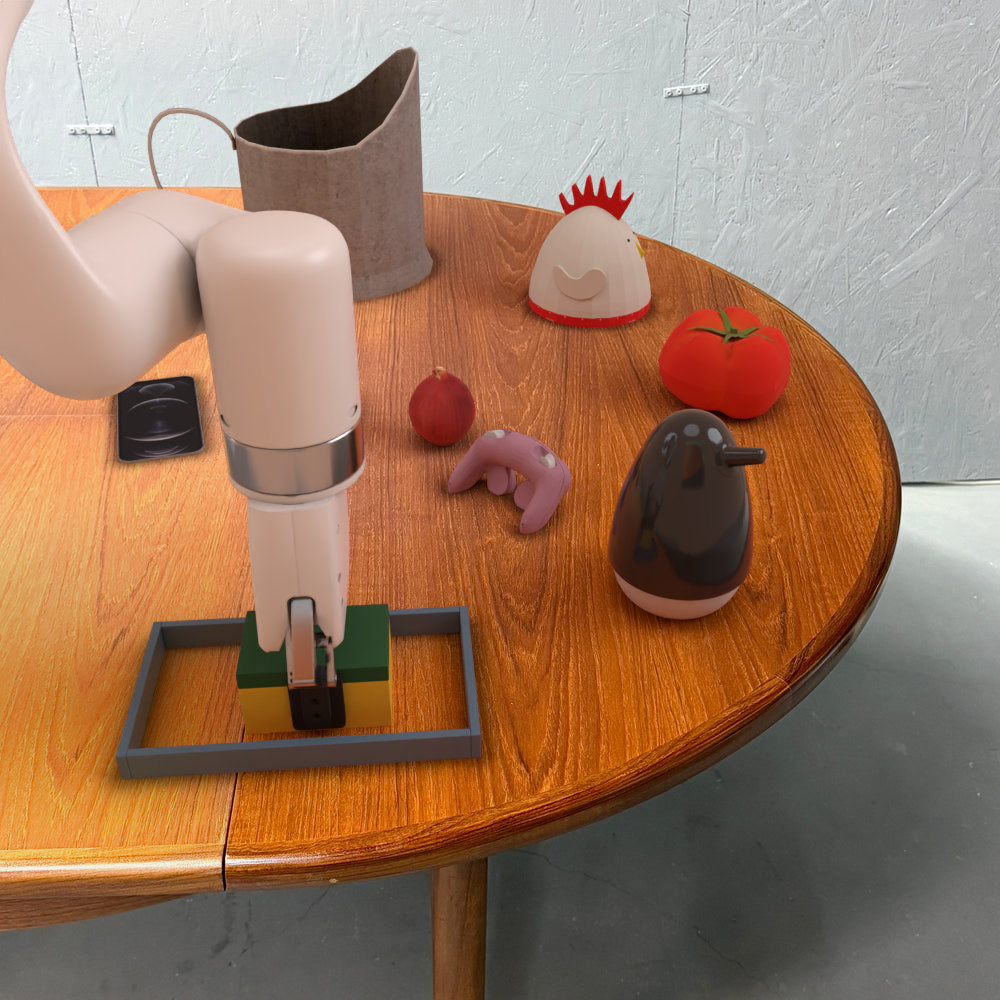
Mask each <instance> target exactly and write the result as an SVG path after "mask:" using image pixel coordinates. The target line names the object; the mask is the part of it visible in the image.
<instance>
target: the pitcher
mask: <svg viewBox="0 0 1000 1000" xmlns="http://www.w3.org/2000/svg"><path fill="white" fill-rule="evenodd" d="M419 63H420V62H419V52H418V51H417V50H416V49H415V48H414V47H413V46H407V47H404V48H399V49H396V50H395V51H394V52H393V53H392V54H390V56H388V57H387V58H386V59H385V60H383V61H382V62H381V63H380V64H379V65H377V66H376V67H375V68H374V69H373V70H372V71H371V72H369V73H368V74H367V75H366V76H364V77H363V78H362V79H361V80H360V81H359V82H358V83H357V84H356V85H354V86H352V87H351V88H349V89H347V90H346V91H344V92H342V93H339V94H338V95H336V96H334V97H333V98H331V99H329V100H323V101H318V102H317V101H316V102H312V103H305V104H297V105H290V106H284V107H277V108H272V109H269V110H265V111H261V112H256V113H254V114H252V115H250V116H247V117H245V118H242V119H241V120H240V121H238V123H236V125H234V127H233V133H232V131H231V129H230V128H229V127H228V126H226V124H225V123H224V122H222V121H221V120H219V118H217V117H215V116H214V115H211V114H210V113H207V112H205V111H202V110H199V109H196V108H190V107H170V108H166V109H164V110H162V111H160V112H159V113H158V114H157V115H156V116H155V118H153V120H152V122H151V124H150V126H149V128H148V132H147V133H148V134H147V154H148V160H149V165H150V170H151V173H152V177H153V181H154V183H155V186H156V189H161V190H164V188H163V185H162V184H161V181H160V179H159V175H158V172H157V169H156V165H155V160H154V159H155V158H154V155H153V147H152V146H153V143H152V141H153V135H154V131H155V130H156V129H155V128H156V127H157V125H158V123H160V121H161V120H162V119H163V118H165V117H167V116H169V115H174V114H187V115H188V114H189V115H193V116H197V117H201V118H203V119H206V120H208V121H210V122H212V123H214V124H215V125H216V126H218V127H219V128H221V129H222V130H223V131H224V133H226V134H227V135H228V138H229V140H230V142H231V148H232V151H235V152H236V158H237V166H238V173H239V180H240V189H241V197H242V205H243V210H245V211H249V212H260V211H295V212H302V213H307V214H312V215H316V216H318V217H321V218H323V219H325V220H327V221H329V222H330V223H332V224H333V225H334V226H336V227H337V229H338V230H339V231H340V232H341V234H342V235H343V237H344V239H345V241H346V243H347V246H348V250H349V257H350V265H351V277H352V291H353V302H354V301H365V300H372V299H377V298H381V297H385V296H388V295H393V294H398V293H400V292H402V291H404V290H406V289H409V288H411V287H413V286H416V285H418V284H420V283H421V282H422V281H423V280H424V279H426V278H427V277H428V276H429V275H430V274H431V272H432V269H433V265H434V261H433V258H432V256H431V254H430V252H429V249H428V247H427V244H426V234H425V205H424V202H425V201H424V177H423V176H424V175H423V149H422V148H423V147H422V121H421V120H422V119H421V118H422V117H421V96H420V95H421V93H420V92H421V91H420V67H419V66H420V65H419Z"/></svg>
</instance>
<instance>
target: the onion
mask: <svg viewBox="0 0 1000 1000" xmlns="http://www.w3.org/2000/svg"><path fill="white" fill-rule="evenodd" d="M476 410H477V409H476V402H475V400H474V397H473V395H472V392H471V390H470V388H469V387H468V386H467V384H466V383H465V382H464V381H463V380H462V379H460V378H459V377H457V376H456V375H454V374H452V373H450V372H449V371H448V370H447V369H446V368H445V367H443V366H441V365H440V366H436V367H435V368H433V369H431V375H429V376H427V377H425V378H424V379H423V380H422V381H421V382H419V383H418V385H417V386H416V387H415V389H414V391H413V393H412V395H411V396H410V400H409V403H408V417H409V420H410V423H411V426H412V427H413V430H415V432H416V433H417V434H419V435H420V437H422V438H423V439H424V440H426V441H428V442H430V443H432V444H433V445H436V446H438V447H449V446H452V445H453V444H455V443H456V442H458V441H460V440H462V439H463V438H464V437H465V436H466V435H467V434H468V433H469V431H470V429H471V427H472V426H473V423H474V421H475V417H476Z"/></svg>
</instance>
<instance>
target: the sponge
mask: <svg viewBox="0 0 1000 1000" xmlns="http://www.w3.org/2000/svg"><path fill="white" fill-rule="evenodd" d="M389 610H390V607H389V603H374V604H373V603H372V604H370V603H369V604H353V605H347V607H346V618H345V629H344V639H343V641H342V642H341V643H340V644H339V645H338V646H337V647H336V648H335V654H336V671H337V674H342V683H343V692H344V702H345V712H346V725H345V726H344V727H343V728H338V729H337V730H345V729H346V730H347V729H361V728H377V727H379V728H380V727H392V726H393V650H392V636H391V635H390V621H389ZM245 617H246V619H245V624H244V630H243V636H242V641H241V644H240V647H239V653H238V658H237V664H236V670H235V680H236V685H237V691H238V696H239V702H240V707H241V714H242V719H243V724H244V731H245V735H253V734H254V735H255V734H256V735H257V734H273V733H291V732H299V731H298V730H295V729H294V728H293V724H292V717H291V710H290V703H289V696H288V688H287V677H288V673H287V659H286V646H285V638H284V641H283V643H282V646H281V648H280V650H279V651H270V652H265V651H264V650H263V649H262V648H261V647H260V646H259V641H258V632H257V622H256V612H255V609H254V610H253V609H252V610H247V611H246V614H245ZM315 631H316V632H323V631H322V630H321V628H320V627H319V625H317V626H315ZM316 662H317V665H324V666H325V667H326V664H325V648H316ZM326 730H329V729H321V730H320V731H326ZM307 731H308V732H309V731H312V730H304V731H303V732H307Z"/></svg>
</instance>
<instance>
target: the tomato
mask: <svg viewBox="0 0 1000 1000" xmlns="http://www.w3.org/2000/svg"><path fill="white" fill-rule="evenodd" d="M716 308H717V310H715V309H711V308H706V307H703V308H701V309H698V310H695V311H693V312H692V313H690V314H689V315H688V316H687V317H685V318H684V319H683V320H682V321H681V322H680V323H679V324H678V325H677V326H676V327H674V328H673V330H672V331H671V333H670V334H669V336H668V338H667V339H666V340H665V343H664V345H663V346H662V349H661V352H660V354H659V358H658V369H659V375H660V377H661V378H660V379H661V381H662V382H663V384H664V387H665V388H666V390H667V391H669V392H670V393H671V394H672V395H674V396H675V397H676V398H677V399H678V400H679V401H681V403H684V404H685V405H687V406H690V407H691V408H694V409H701V410H705V411H708V412H710V411H718V412H721V413H722V414H724V415H725V416H727V417H729V418H732V419H737V420H748V419H752V418H756V417H757V418H758V417H760V416H762V415H764V414H766V413H767V412H768V411H769V410H770V409H771V408H772V406H773V405H774V404H776V402H777V401H778V400H779V398H780V397H781V396H782V395H783V393H784V391H785V390H786V388H787V386H788V383H789V381H790V377H791V354H792V353H791V349H790V346H789V341H788V339H787V338H786V336H785V335H784V333H783V332H782V331H781V329H779V328H778V327H776V326H771V325H765V326H764V325H763V323H762V321H761V320H760V319H759V317H758V316H757V315H756V314H754V313H752V312H751V311H749V310H748V309H746V308H744V307H739V306H735V305H729V306H726V307H725V308H723V309H721V308H719V307H718V306H716Z"/></svg>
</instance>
